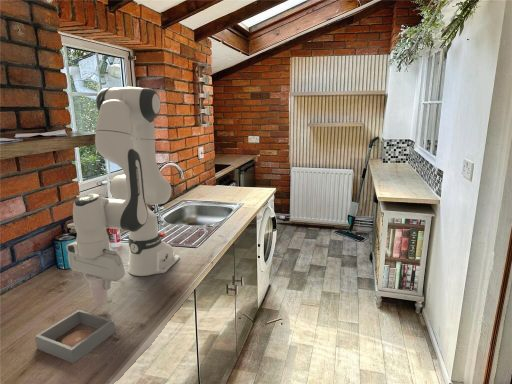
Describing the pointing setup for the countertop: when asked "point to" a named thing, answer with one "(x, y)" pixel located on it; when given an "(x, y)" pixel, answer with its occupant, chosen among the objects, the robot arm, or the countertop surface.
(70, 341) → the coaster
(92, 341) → the grey open tray
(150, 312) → the countertop surface
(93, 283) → the smoothie
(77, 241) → the robot arm
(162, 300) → the countertop surface
